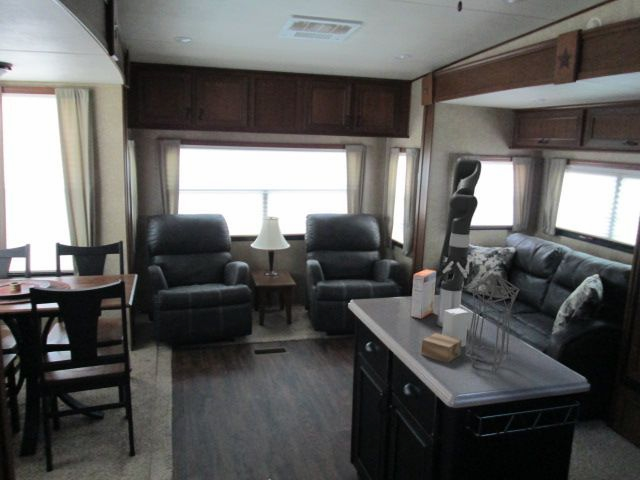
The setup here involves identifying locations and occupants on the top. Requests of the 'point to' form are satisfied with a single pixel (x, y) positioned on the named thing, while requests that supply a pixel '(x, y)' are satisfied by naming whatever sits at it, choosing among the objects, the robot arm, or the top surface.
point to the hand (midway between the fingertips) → (455, 284)
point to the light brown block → (441, 347)
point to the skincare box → (456, 324)
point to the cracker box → (423, 293)
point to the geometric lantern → (475, 292)
